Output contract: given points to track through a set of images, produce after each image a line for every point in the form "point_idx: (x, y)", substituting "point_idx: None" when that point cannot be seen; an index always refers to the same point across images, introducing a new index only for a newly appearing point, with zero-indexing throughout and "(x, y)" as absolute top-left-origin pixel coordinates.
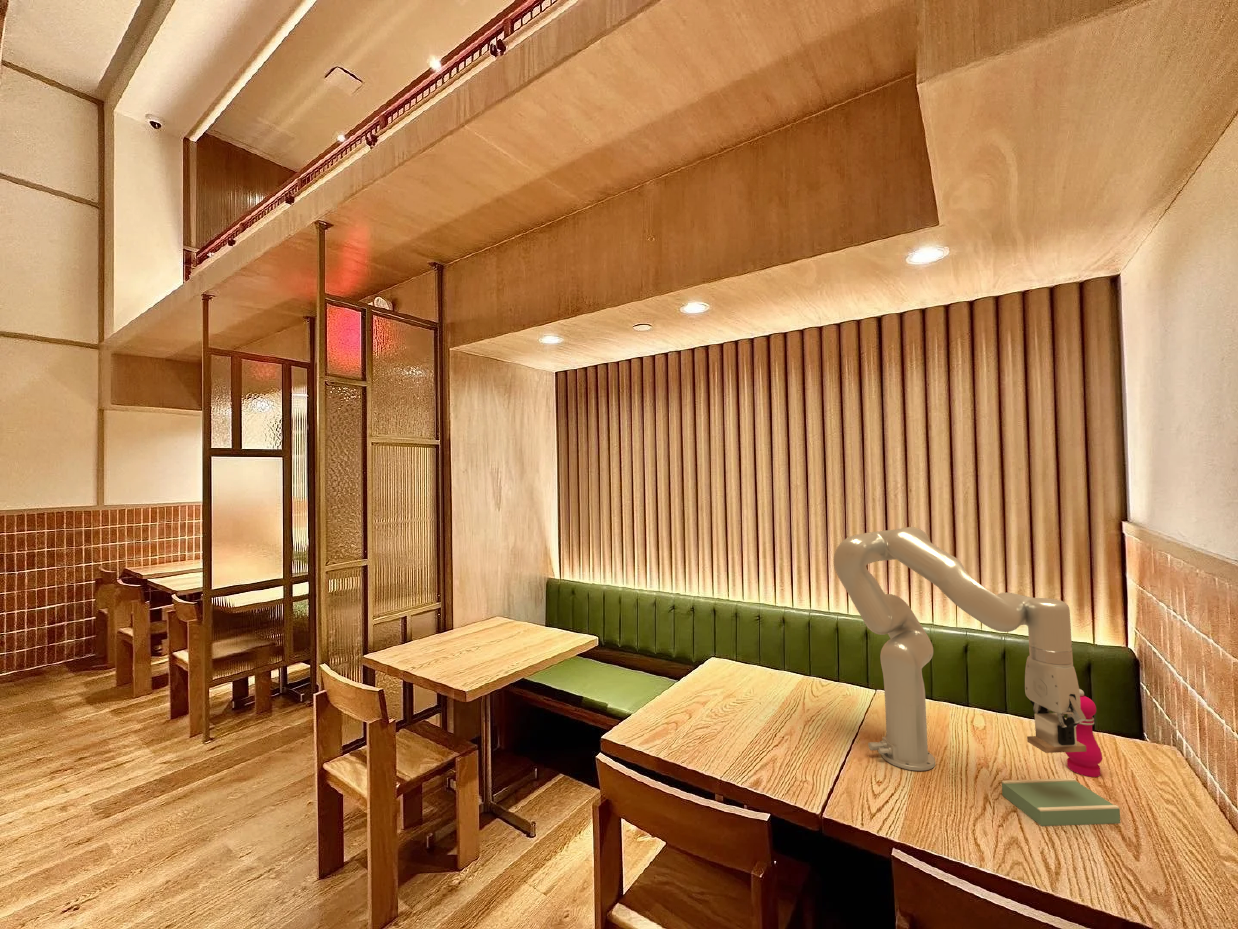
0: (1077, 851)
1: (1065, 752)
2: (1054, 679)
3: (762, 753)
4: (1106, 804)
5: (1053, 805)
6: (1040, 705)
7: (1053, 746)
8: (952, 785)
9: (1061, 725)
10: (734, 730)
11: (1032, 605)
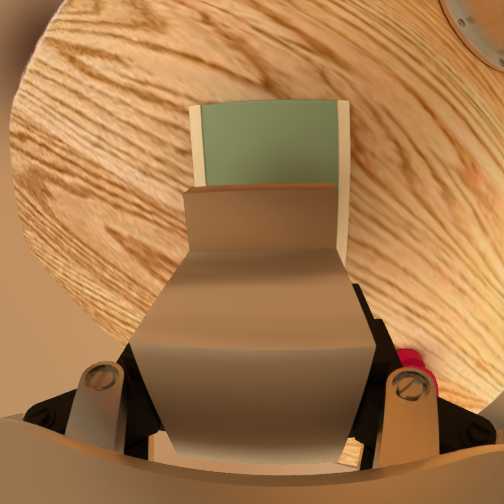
0: (119, 131)
1: (424, 368)
2: None
3: None
4: None
5: (219, 163)
6: (376, 461)
7: (195, 250)
8: (384, 17)
9: (119, 374)
10: None
11: None
